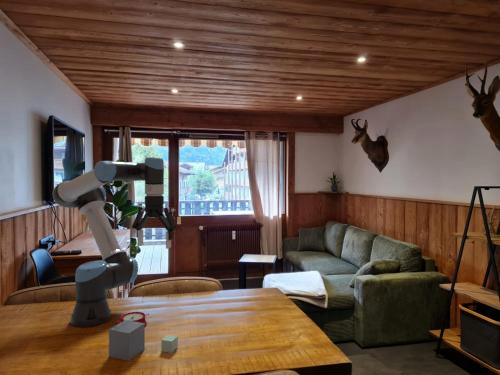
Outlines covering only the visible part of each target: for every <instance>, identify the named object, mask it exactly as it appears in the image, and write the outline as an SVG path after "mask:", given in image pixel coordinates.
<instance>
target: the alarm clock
mask: <svg viewBox="0 0 500 375" xmlns="http://www.w3.org/2000/svg"><path fill="white" fill-rule="evenodd" d="M149 315H150V313H148V314H145V313H144V312H141V311H131V312H127V313H124V314H123V315H121V317H120V320H116V321H115V322H114V326H116V325H118V324H119V323H121V322H123V321H125V320H128V321H134V322H140V323H145V327H147V324H148V321H146V316H149ZM114 326H113V327H114Z"/></svg>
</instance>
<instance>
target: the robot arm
mask: <svg viewBox="0 0 500 375" xmlns="http://www.w3.org/2000/svg"><path fill="white" fill-rule="evenodd" d="M164 174H165V163H164V159H163V158H162V157H155V156H154V157H153V156H152V157H149V156H148V157H146V158H144V162H130V161H129V162H127V161H115V160H114V161H113V160H100V161H98V162H96V163H95V165H94V168H93V169H92V170H89V171H88V172H85V173H83V174H81V175H79V176H77V177H75V178H74V179H71V180H65V181H62V182H60V183H58V184H57V185H55V186H54V188H53V190H52V198H53V201H54V202H55V203H56V204H57V205H59V206H60V207H62V208H67V209H71V208H73V209H75V208H77V209H78V211H79V213H80V214H81V215H84V217H85V219H86V222H87V224H88V227H89V229H90V231H91V234H92V236H93V238H94V241H95V243H96V245H97V249H98V251H99V253H100V255H101V257H102V259H101V260H97V259H96V260H91V261H86V262H84V263H82V264H80V265H79V266H78V267H77V268H76V270H75V276H74V281H75V304H74V307H73V310H72V314H71V317H70V323H71V325H72V326H74V327H77V328H78V327H79V328H87V327H88V328H89V327H95V326H99V325H102V324H105V323H107V322H108V321H109V320H111V319H112V310H111V308H110V305H109V302H108V299H107V298H108V297H107V293H108V292H107V291H110V290H113V289H118V288H119V287H123V286H124V287H125V286H127V285H129V284H131V283H133V282H135V280H136V279H137V277H138V273H139V264H138V261H137V259H135V258H134V257H133V256H128V254H127V251H124V250H122V248H121V246H120V244H119V242H118V239H117V236H116V234H115V233H114V230H113V227H112V225H111V223H110V221H109V218H108V217H107V214H106V211H105V209H104V208H105V206H106V201H107V192H106V190H105V188H104V185H106V184H109V183H112V182H115V181H116V182H117V181H132V182H137V181H139V182H141V181H144V194H145V196H144V205H145V206H144V205H143V206H138V210H137V214H136V216H135V218H134V221H133V222H132V223H133V224H132V225H131V228H132V229H134V230H135V231H136V232H135V236H136V238H137V247H141V246H144V229H143V228H144V226H145V224H147V222H148V221H149V219H158V220H159V221H160V223H161V224H162V225H163V227H164V228H165V230H166V232H165V249H168V250H169V249H171V248H172V240H173V239H174V232H175V231H177V230H178V227H177V224H176V222H175V220H174V218H173V215H172V212H171V207H164V203H165V196H164V194H165V193H164V192H165V191H164V190H165V187H164V186H165V181H164V180H165V175H164ZM144 213H145V214H144Z"/></svg>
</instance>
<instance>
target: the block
mask: <svg viewBox="0 0 500 375" xmlns="http://www.w3.org/2000/svg"><path fill="white" fill-rule="evenodd" d="M178 340H179V336H178V335H172V334H166V336H164V337H163V338H162V339H161V343H160V344H161V346H160V347H161V349H160V350H161V352H163V353H169V354H173V353H174V352H175V351H176V350H177V349H178V348H179V345H178V344H179V343H178V342H179V341H178ZM177 347H178V348H177ZM176 348H177V349H176ZM175 349H176V350H175ZM174 350H175V351H174Z"/></svg>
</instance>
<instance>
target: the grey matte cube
mask: <svg viewBox="0 0 500 375" xmlns="http://www.w3.org/2000/svg"><path fill="white" fill-rule="evenodd" d="M145 328H146V326H145V323H140V322H134V321H128V320H125V321H123V322H121V323H119V324H118V325H116V326H112V327H110V328H108V357H109V358H114V359H117V360H118V359H119V360H123V361H128V362H129V361H131V360H132V359H134V358H135V357H137V356H138V355H139V354H141V353H142V352H143V351H145V349H146V348H145V346H146V344H145V341H146V338H145V337H146V336H145V332H146V331H145V330H146V329H145Z"/></svg>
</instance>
